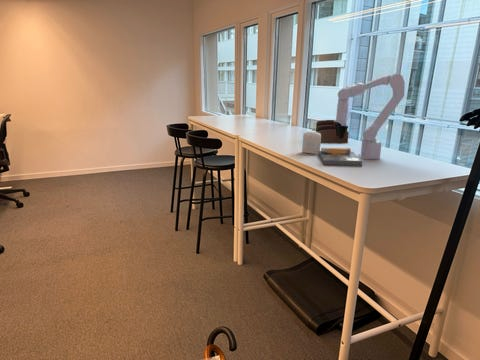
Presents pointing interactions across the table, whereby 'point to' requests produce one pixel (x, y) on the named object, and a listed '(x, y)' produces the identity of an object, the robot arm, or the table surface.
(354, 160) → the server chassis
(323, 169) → the table surface
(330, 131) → the letter holder
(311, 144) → the photo printer
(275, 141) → the table surface
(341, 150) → the tan grey headed bar
